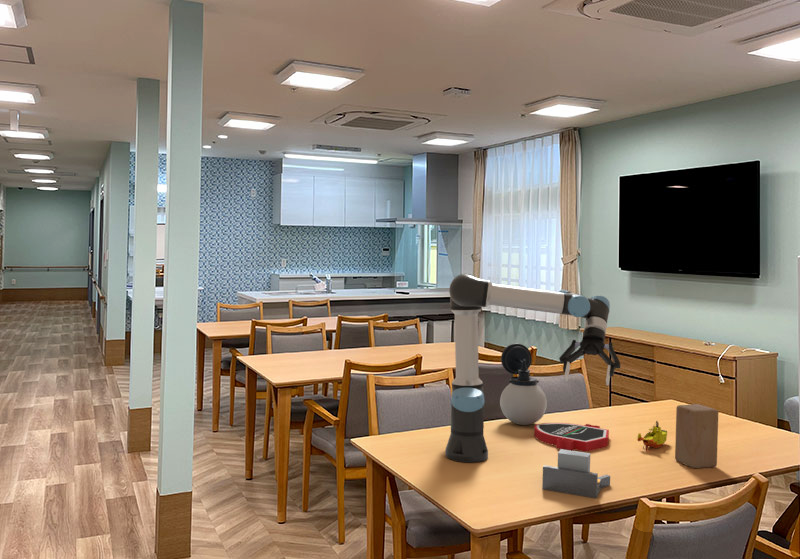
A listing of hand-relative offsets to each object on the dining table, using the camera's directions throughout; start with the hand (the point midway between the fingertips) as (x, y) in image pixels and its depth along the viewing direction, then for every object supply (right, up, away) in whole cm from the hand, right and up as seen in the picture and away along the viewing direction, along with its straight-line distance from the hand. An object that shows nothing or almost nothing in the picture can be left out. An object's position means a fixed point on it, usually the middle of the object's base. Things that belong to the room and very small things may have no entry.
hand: (586, 381), depth 216 cm
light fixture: (-10, -28, +61) cm, 68 cm away
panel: (-9, -30, -18) cm, 37 cm away
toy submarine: (+34, -30, +28) cm, 53 cm away
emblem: (+4, -29, +37) cm, 47 cm away
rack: (-9, -30, -17) cm, 35 cm away
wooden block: (+41, -30, +8) cm, 51 cm away
